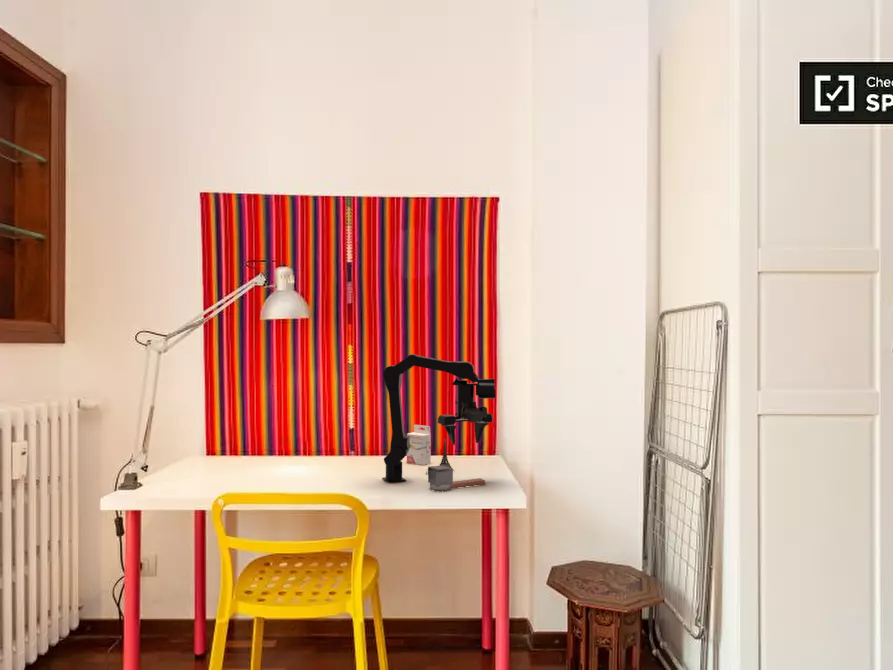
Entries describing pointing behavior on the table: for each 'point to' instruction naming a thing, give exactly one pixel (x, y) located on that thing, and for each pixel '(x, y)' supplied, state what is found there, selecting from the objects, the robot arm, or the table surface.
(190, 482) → the table surface
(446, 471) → the socket
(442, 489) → the hammer
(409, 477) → the table surface
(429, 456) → the ink cartridge box
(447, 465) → the eiffel tower figurine
